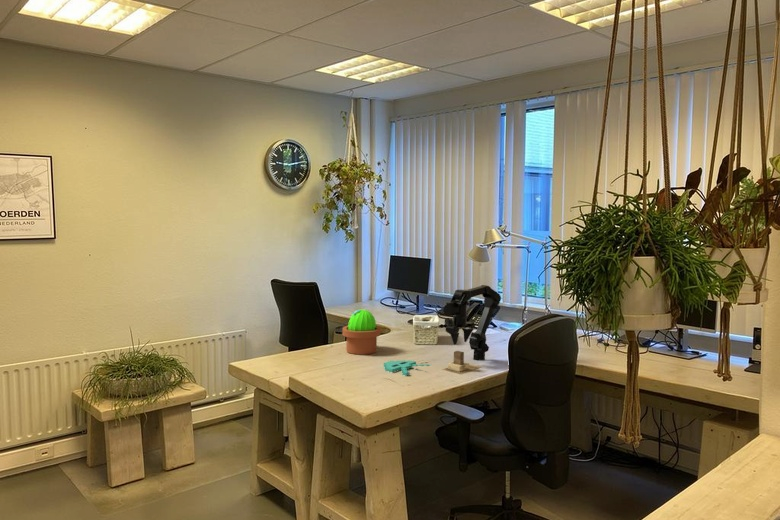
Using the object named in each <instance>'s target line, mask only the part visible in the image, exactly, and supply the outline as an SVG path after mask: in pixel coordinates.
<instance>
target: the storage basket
mask: <svg viewBox="0 0 780 520" xmlns="http://www.w3.org/2000/svg"><path fill="white" fill-rule="evenodd" d="M424 320H425V321H424ZM412 326H413V344H415V345H437V344H438V337H439V329H440V317H439V315H437V314H434V315H432V314H431V315H430V314H415V315H413V318H412Z"/></svg>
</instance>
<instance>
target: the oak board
mask: <svg viewBox="0 0 780 520" xmlns="http://www.w3.org/2000/svg"><path fill="white" fill-rule="evenodd" d="M481 368H482V366H478V365H474V364H470V363H469V369H468V370H465V371H462V372H456V371H452V370H448V367H445V368H442V369H441V370H442V371H446V372H450V373H454V374H458V375H463V374H466V373H469V372H472V371H476V370H479V369H481Z"/></svg>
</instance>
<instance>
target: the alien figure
mask: <svg viewBox="0 0 780 520" xmlns="http://www.w3.org/2000/svg"><path fill="white" fill-rule="evenodd" d="M418 366H419V367H423V366H425V367H428V366H430V364H429V363H424V364H422V363H419V364H417V361H414V360H410V359H409V360H405V359H403V360H398V359H397V360H390V361H389V360H388V361H385V362H383V368H384V367H385V368H384V370H385V372H386V371H389V372H388V373H390V372H393V373H395V372H394V371H396V372H398V371H397V370H399V371H400V372H401V371H402V372H401V374H402V373H403V374H402V376H403V375H405V376H404V377H407V375H408V376H410V371H409V370H410V369H409V368H411V369H413V368H414V367H418ZM407 369H408V370H407Z"/></svg>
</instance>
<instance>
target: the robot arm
mask: <svg viewBox="0 0 780 520" xmlns="http://www.w3.org/2000/svg"><path fill="white" fill-rule="evenodd" d="M480 295H481V296H482V298H483V302H484V309H483V311H482V315H481V317H480V319H479V323H478V326H477V328H476V324H475V322H472V321H467V319H468V318H469V316H468V315H467V306H470V302H469V301H470V300H471V299H472V298H473V297H477V296H480ZM501 299H502V296H501V294H500V293H498V292H497V291H496V290H494V289H493V288H492V287H491V286H489V285H485V284H482V285H480V286H475V287H472V288H468V289H456V290H454V293H453V295H452V297H451V298H450V301H449V302H446V303H445V305H444V307H443V310H442V312H443V314H444V315H445V316H446V318H444V324H445V325H446V327H445V332H446V333H447V334H449V335H450V336H451V337H450V338H451V339H452V343H453V345H454V346H456V345H457V344H458V343H457V342H458V339H459V336H460V332H459V331H460V330H461V331H463V340H464V341H463V342H464V343H467V342H468V340H469V342H468V344H469V348H470V349H471V350H473V357H472V358H473V359H472V360H474V361H484V360H486V353H487V352H489V349H490V346H488V344H487V336H486V333H487V330H488V327H489V325H490V323H491V322H490V321H491V318H492V316H493V313H494V310H495V309H496V308H498V306H499V304H500V303H501ZM450 316H451V317H453V318H450ZM474 329H476V331H475V332H473V331H474Z"/></svg>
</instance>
